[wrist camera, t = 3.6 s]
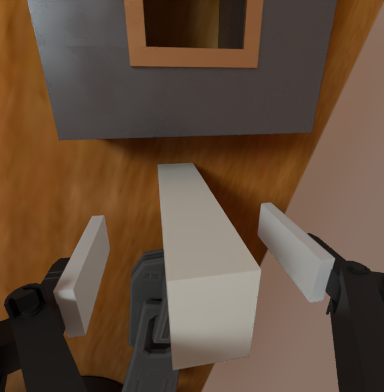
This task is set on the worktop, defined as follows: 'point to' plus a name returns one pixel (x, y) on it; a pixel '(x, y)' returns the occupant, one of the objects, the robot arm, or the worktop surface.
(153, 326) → the zipper slider
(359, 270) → the robot arm
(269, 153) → the worktop surface
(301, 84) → the block
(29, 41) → the worktop surface
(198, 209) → the white rectangular bar
